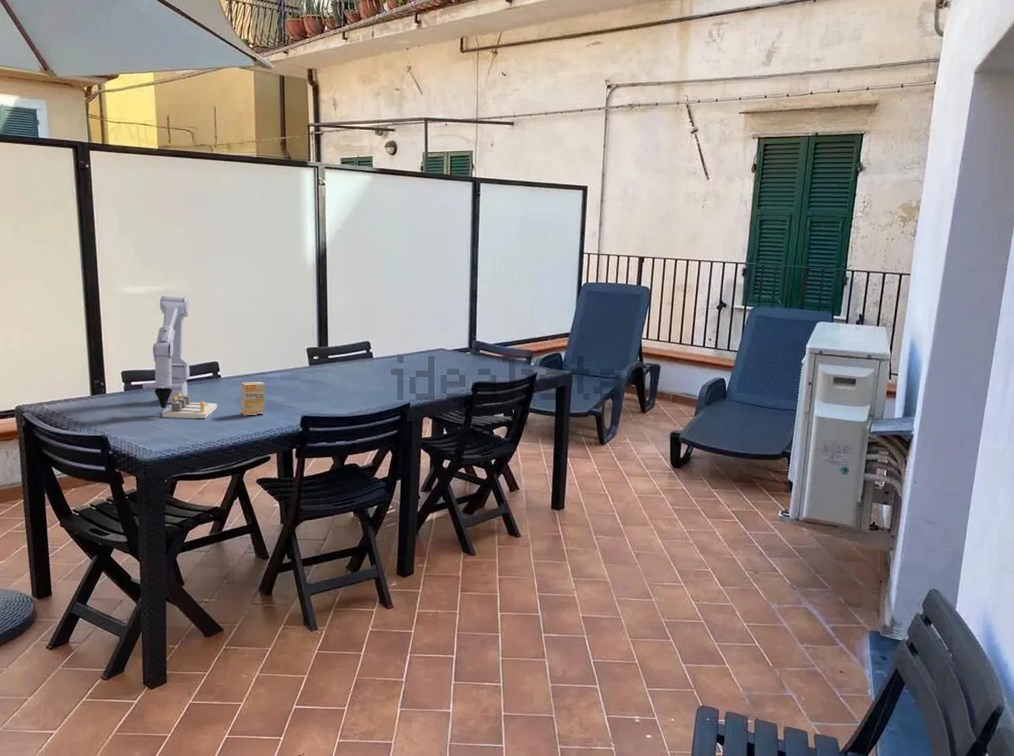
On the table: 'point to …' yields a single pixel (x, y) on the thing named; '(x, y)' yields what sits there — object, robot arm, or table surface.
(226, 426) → the table surface
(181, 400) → the middle knob
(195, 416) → the switch panel
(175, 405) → the front knob
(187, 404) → the rear knob
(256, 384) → the supplement box
